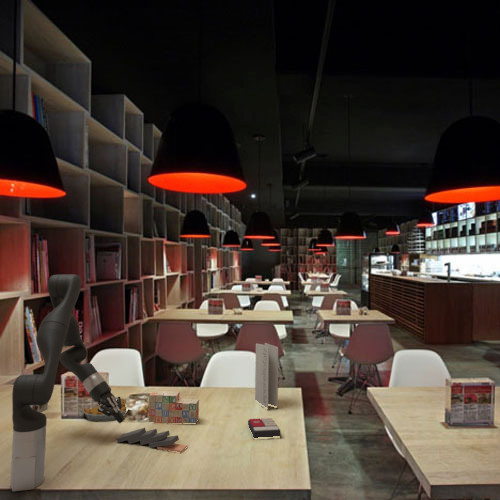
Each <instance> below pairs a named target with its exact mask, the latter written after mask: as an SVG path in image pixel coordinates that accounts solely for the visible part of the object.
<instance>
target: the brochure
mask: <svg viewBox="0 0 500 500" xmlns="http://www.w3.org/2000/svg"><path fill="white" fill-rule="evenodd" d="M254 367H255V371H254V372H255V375H254V376H255V377H254V378H255V379H254V382H255V384H254V385H255V386H254V391H255V392H254V401H255V400H257V401H258V402H259V403H261V404H262V405H264V406H265V407H267V408H268V409H269V407H268V404H271V405H274V406H277V407H279V406H278V405H279V400H278V396H279V389H278V388H279V386H278V385H279V347H278V346H276V345H272V344H269V343H267V342H264V344H261V343H255V366H254Z"/></svg>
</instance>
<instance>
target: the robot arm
mask: <svg viewBox="0 0 500 500" xmlns="http://www.w3.org/2000/svg"><path fill="white" fill-rule="evenodd" d="M81 289H82V280H81V277H80V275H78V274H75V273H74V274H71V273H69V274H66V273H65V274H53V275H51V276H50V277H49V278H48V281H47V290H48V291H47V292H48V295H49V296H48V297H49V298H50V301H51V304H52V307H53V309H52V311H50V312H49V313H48V314H47V315H46V316H44V317H43V319H42V321H41V322H40V324H39V328H38V331H37V334H36V337H35V338H36V339H35V341H36V345H37V348H38V350H39V351H40V354H41V357H42V359H43V362H44V369H43V373H41V374H40V373H39V374H20V375H18V377H16V379H15V380H14V383H13V387H12V392H11V393H12V399H11V401H12V418H11V419H12V440H11V441H12V445H11V446H12V447H11V463H10V464H11V466H10V489H11V491H12V492H18V491H21V492H22V491H28V490H31V491H32V490H35V488H37V487H39V486H40V485H42V484H43V483H44V481H45V468H46V467H45V466H46V465H45V462H46V441H47V439H46V438H47V423H48V422H47V416H46V414H45V413H43V412H42V411H41V412H38V411H35V410H34V409H32V408H31V407H30V405H44V404H47V403H49V401H50V400H51V398H52V396H53V393H54V387H55V383H56V380H57V379H56V377H57V372H58V367H59V363H61V365H62V366H63V367H64V368H65V369H67V370H68V371H69V372H71V373H72V374H73V375H75V377H77V378H78V379H79V381H80V383H82V386H83V388H84V389H85V390H86V392H87V393H88V395H89V396H90V397H91V399H92V401H93V402H94V401H95V402H98V404H99V408H98V409H97V410H98V411H99V412H101V413H103V414H105V415H107V416H109V417H110V416H114V417H115V421H116V422H117V423H118V424H121V423H122V422H124V421H125V420H126V419H125V416H123V415H122V414H121V412H120V410H121V408H122V405H121V399H122V398H121V396H117V397H116V396H115V395H114V394H113V392H112V388H111V387H110V385H109V384H108V383H107V381H106V379H104V377H103V376H102V375H101V374H100V373H99V372H98V371H97V369H96V368H95V366H94V365H93V363H90V362H86V363H81V362H83V361H84V360H85V359H87V357H88V349H87V347H86V346H85V343H84V342H83V340H82V336H81V331H80V324H79V322H78V320H77V318H76V317H75V315H74V314H73V311H74V309H75V306H76V304H77V301H78V299H79V295H80V293H81ZM64 346H66V347H70V348H68V349H66V350H64V351H63V348H64Z"/></svg>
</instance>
